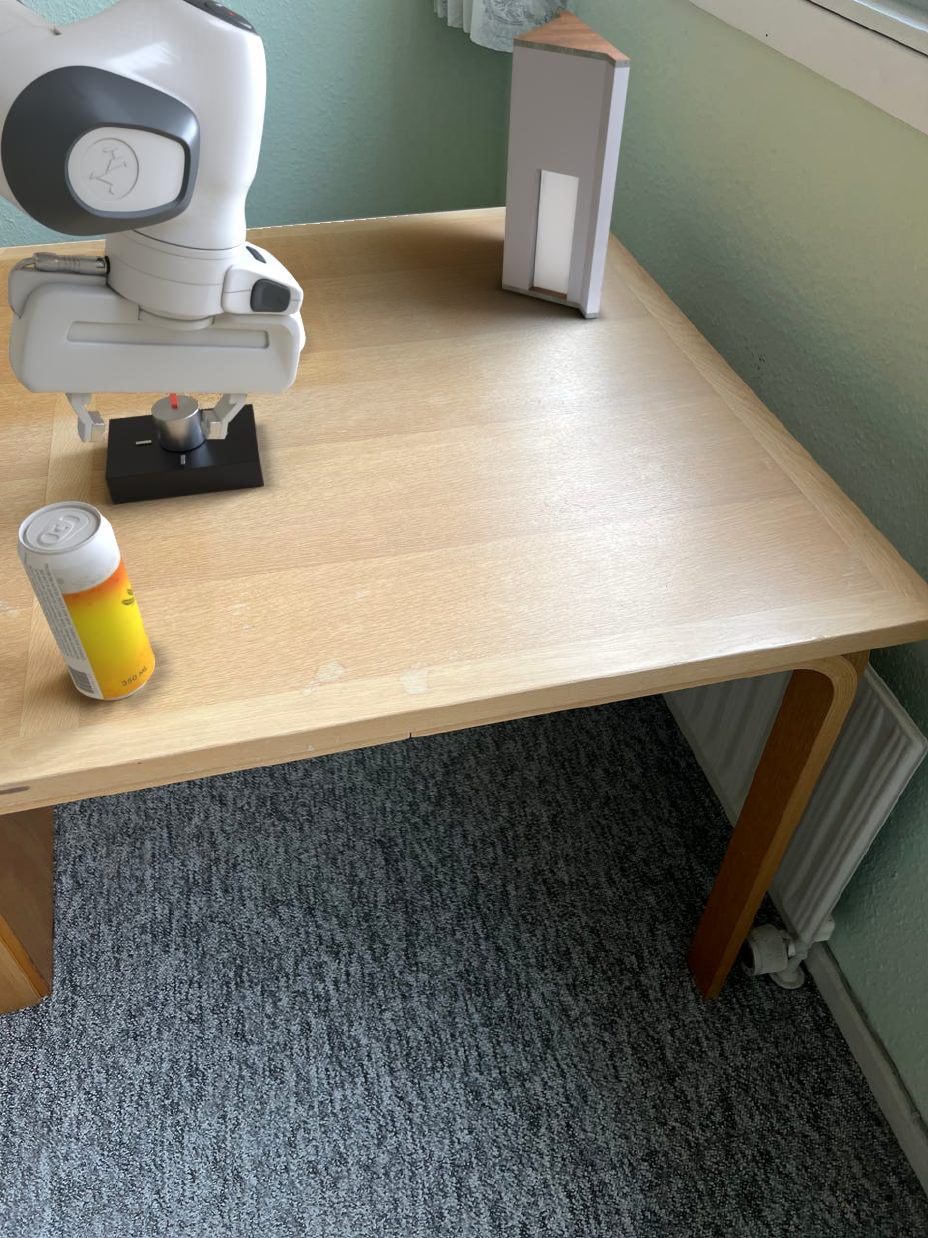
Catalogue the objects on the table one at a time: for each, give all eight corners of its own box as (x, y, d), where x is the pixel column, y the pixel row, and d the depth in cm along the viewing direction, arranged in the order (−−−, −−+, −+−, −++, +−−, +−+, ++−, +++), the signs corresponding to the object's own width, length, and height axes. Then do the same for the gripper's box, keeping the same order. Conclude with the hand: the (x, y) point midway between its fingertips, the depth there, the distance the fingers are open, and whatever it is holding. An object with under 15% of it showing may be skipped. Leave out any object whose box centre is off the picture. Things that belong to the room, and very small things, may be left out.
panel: (113, 504, 86) (104, 477, 84) (116, 444, 93) (108, 417, 91) (264, 485, 89) (259, 458, 86) (256, 428, 96) (252, 401, 93)
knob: (208, 447, 88) (200, 413, 85) (160, 455, 87) (151, 420, 84) (203, 422, 91) (195, 388, 88) (157, 429, 90) (148, 395, 87)
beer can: (172, 658, 73) (126, 508, 62) (128, 715, 69) (71, 565, 58) (106, 639, 74) (50, 489, 63) (59, 693, 70) (-9, 543, 59)
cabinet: (598, 317, 114) (630, 59, 94) (523, 324, 112) (540, 64, 92) (548, 246, 128) (567, 10, 108) (481, 252, 126) (488, 13, 106)
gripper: (19, 272, 55) (17, 465, 64) (324, 294, 67) (288, 455, 75) (-4, 227, 59) (-3, 416, 67) (289, 256, 71) (259, 413, 79)
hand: (153, 436), depth 71 cm, fingers open, 8 cm apart
